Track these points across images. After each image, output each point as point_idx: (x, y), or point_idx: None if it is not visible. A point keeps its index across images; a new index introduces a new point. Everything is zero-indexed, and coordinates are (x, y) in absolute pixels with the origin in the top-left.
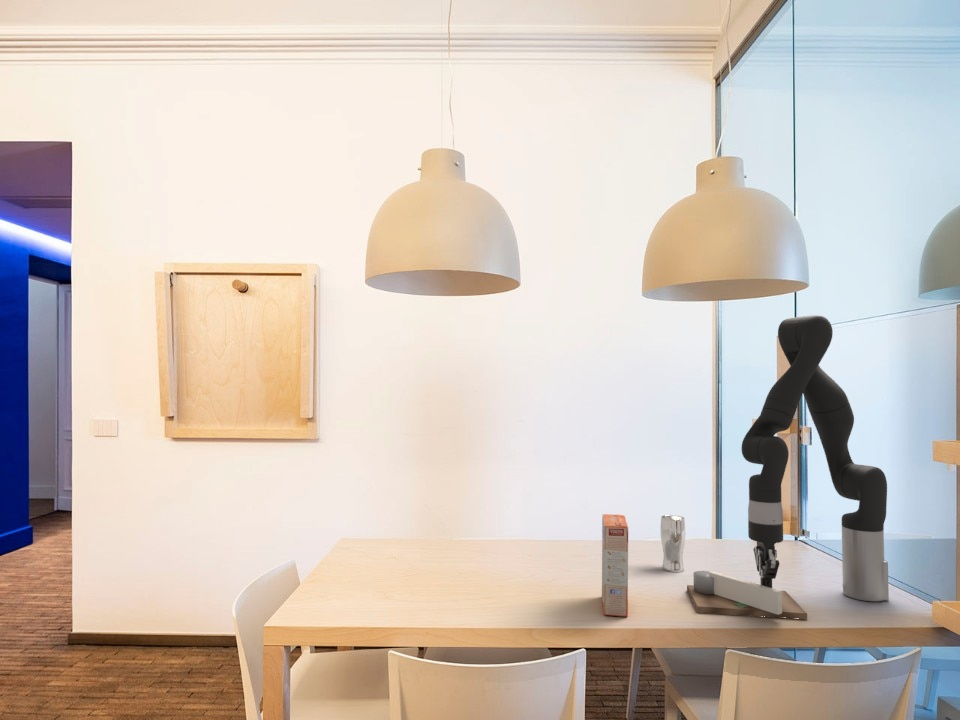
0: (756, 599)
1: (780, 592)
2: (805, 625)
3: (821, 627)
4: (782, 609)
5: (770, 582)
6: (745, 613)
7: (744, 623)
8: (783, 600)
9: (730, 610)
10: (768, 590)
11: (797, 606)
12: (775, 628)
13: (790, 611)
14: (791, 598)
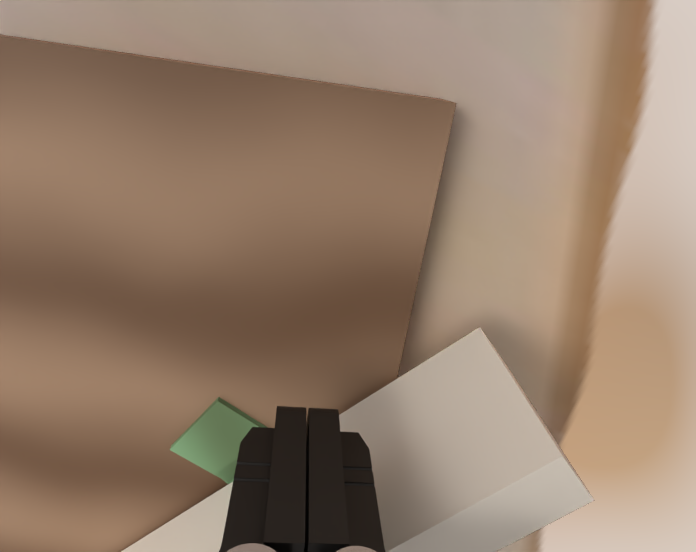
0: None
1: (565, 460)
2: (543, 167)
3: (598, 55)
4: (362, 275)
5: (380, 536)
6: None
7: None
8: (111, 172)
9: None
10: (498, 540)
11: (274, 108)
12: (565, 375)
13: (409, 232)
14: (12, 53)
